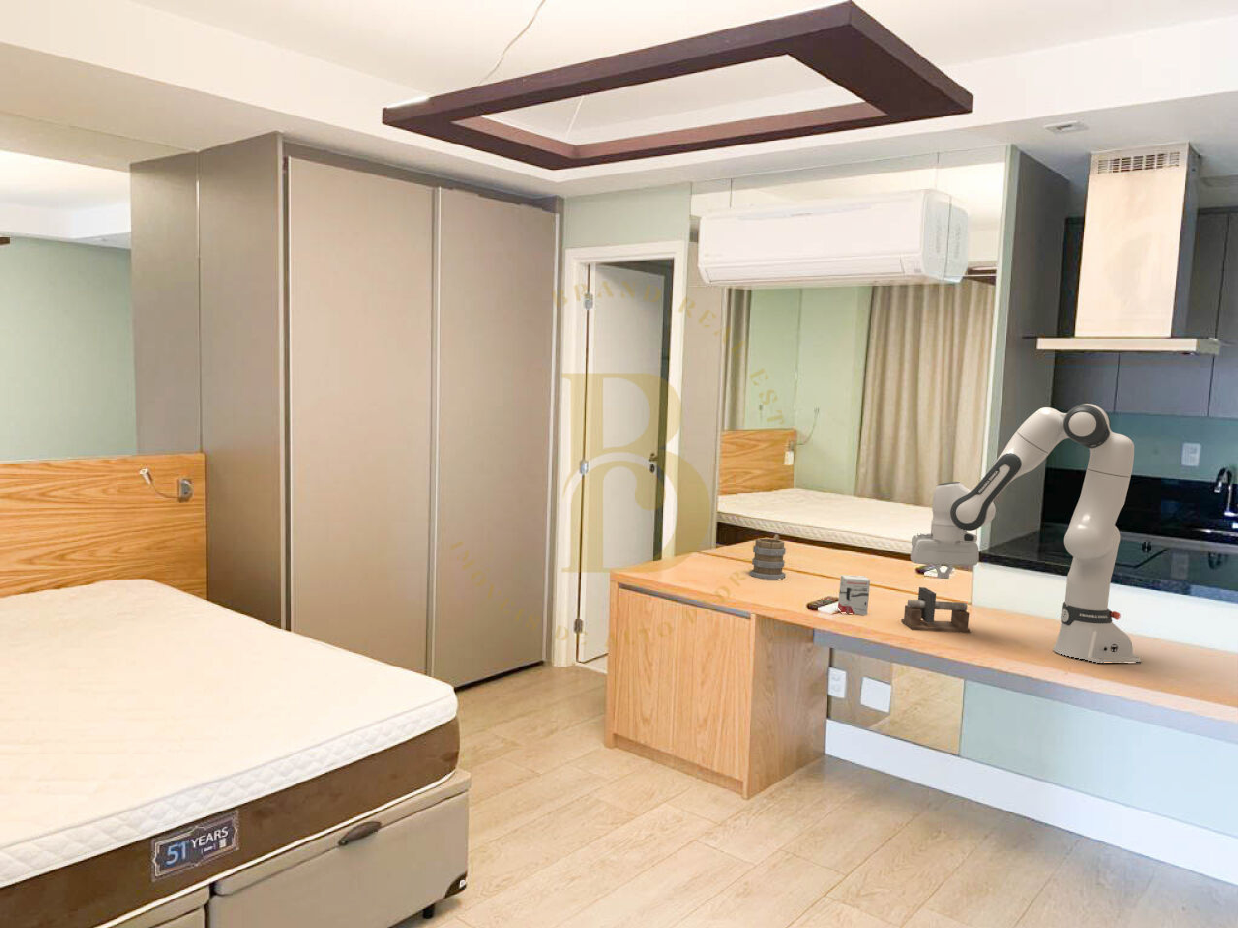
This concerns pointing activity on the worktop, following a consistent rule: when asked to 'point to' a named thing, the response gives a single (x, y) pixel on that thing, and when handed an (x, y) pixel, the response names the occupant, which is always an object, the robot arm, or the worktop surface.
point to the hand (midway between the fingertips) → (943, 578)
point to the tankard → (768, 559)
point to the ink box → (854, 594)
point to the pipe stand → (915, 623)
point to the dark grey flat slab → (927, 604)
